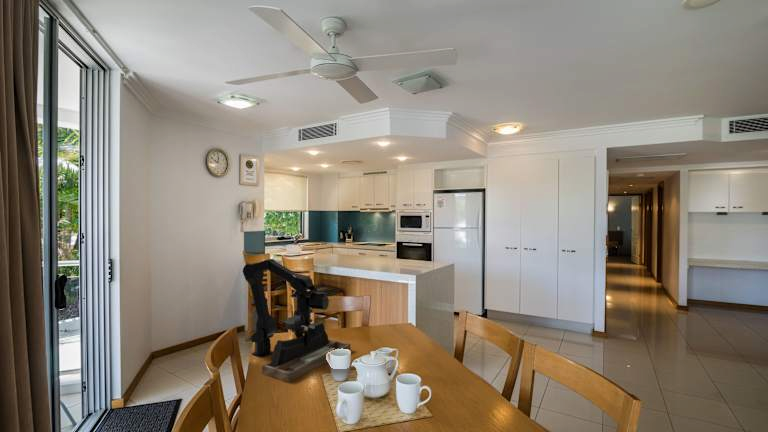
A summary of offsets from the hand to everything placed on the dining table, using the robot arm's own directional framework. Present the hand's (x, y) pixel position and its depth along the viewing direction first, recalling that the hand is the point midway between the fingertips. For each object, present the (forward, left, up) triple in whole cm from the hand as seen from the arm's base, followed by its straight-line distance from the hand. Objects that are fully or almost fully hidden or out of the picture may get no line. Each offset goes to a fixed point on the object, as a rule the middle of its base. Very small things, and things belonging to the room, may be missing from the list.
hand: (303, 345), depth 150 cm
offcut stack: (+7, 0, -6) cm, 9 cm away
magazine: (0, -1, -6) cm, 6 cm away
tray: (+3, 0, -6) cm, 6 cm away
